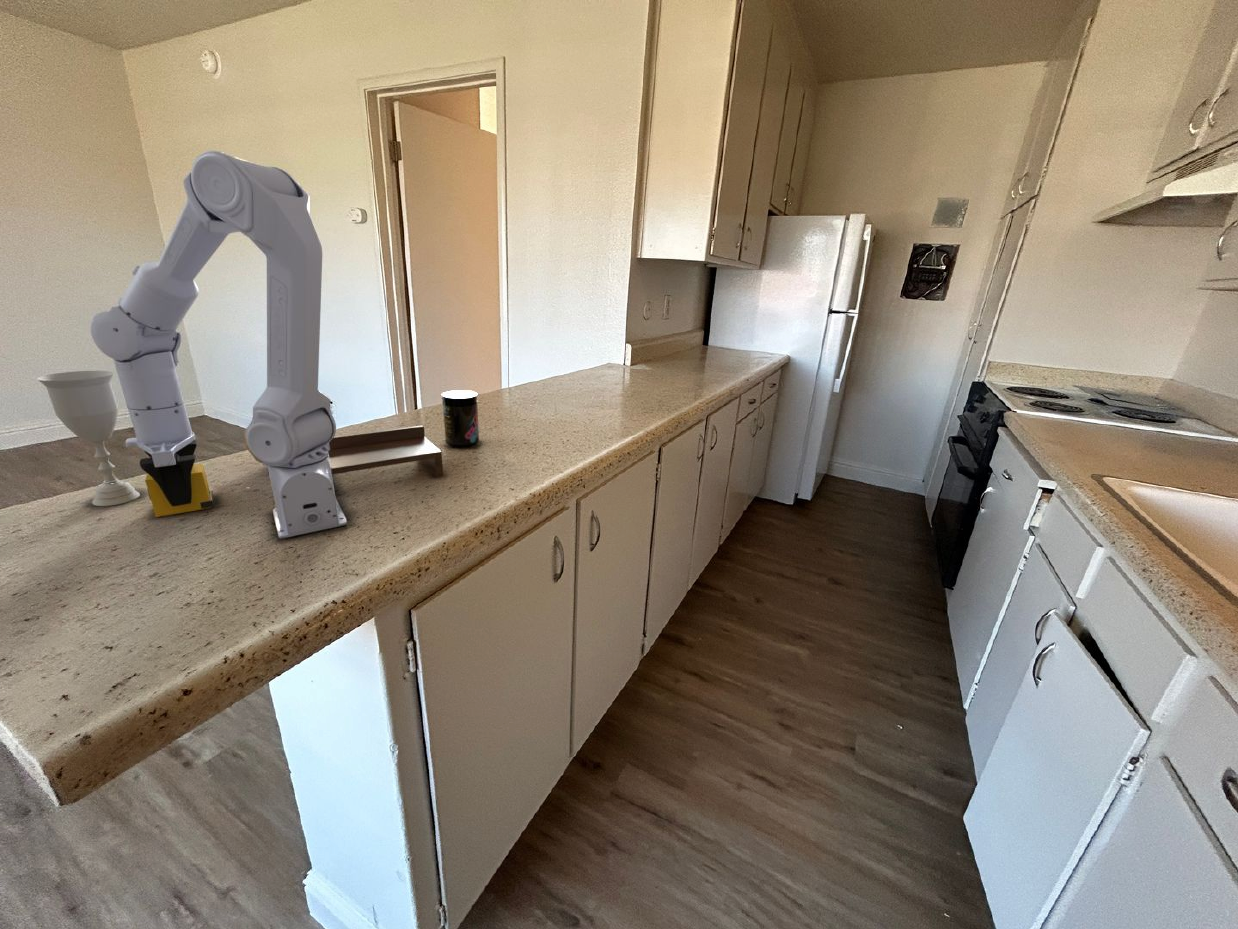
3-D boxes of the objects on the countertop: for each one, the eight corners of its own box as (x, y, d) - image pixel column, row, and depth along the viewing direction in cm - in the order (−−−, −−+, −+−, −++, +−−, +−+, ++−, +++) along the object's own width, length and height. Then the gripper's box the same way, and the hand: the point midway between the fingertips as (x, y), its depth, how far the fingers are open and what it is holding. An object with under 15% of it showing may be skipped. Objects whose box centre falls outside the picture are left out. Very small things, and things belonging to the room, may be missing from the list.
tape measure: (213, 507, 73) (204, 471, 71) (154, 517, 69) (142, 480, 67) (214, 497, 76) (205, 462, 74) (156, 506, 72) (146, 470, 70)
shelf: (443, 475, 88) (440, 440, 86) (326, 497, 78) (319, 457, 76) (425, 458, 96) (422, 425, 93) (316, 476, 85) (310, 439, 83)
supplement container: (462, 451, 100) (459, 399, 97) (438, 444, 103) (434, 394, 100) (486, 443, 106) (484, 393, 102) (463, 436, 109) (460, 388, 105)
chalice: (106, 512, 70) (63, 382, 64) (67, 505, 71) (21, 378, 65) (161, 491, 77) (127, 373, 71) (125, 486, 78) (88, 369, 72)
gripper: (123, 396, 71) (149, 486, 75) (106, 422, 60) (139, 525, 65) (188, 391, 75) (209, 477, 79) (184, 415, 64) (209, 512, 69)
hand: (182, 498), depth 72 cm, fingers closed on tape measure, 4 cm apart
